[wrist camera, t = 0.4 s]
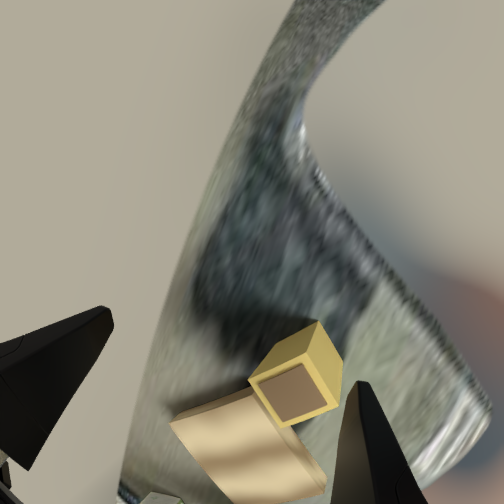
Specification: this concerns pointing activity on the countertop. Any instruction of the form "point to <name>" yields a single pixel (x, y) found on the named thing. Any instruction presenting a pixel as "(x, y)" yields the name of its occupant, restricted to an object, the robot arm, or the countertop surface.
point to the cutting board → (249, 451)
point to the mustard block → (299, 377)
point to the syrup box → (161, 499)
